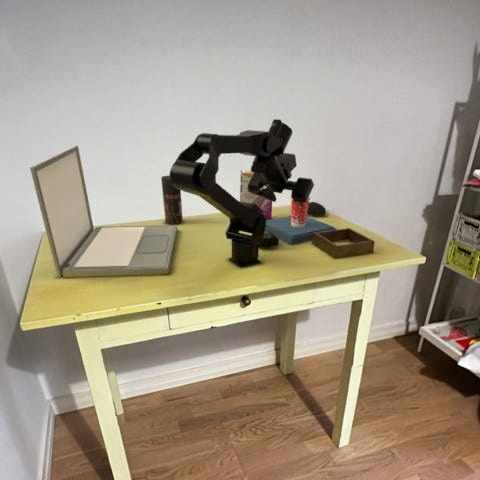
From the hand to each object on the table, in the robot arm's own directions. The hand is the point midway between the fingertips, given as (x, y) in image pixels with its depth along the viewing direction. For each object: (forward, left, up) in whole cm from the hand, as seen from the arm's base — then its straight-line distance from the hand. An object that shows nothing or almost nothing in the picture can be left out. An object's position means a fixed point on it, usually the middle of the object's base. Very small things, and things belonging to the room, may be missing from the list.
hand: (288, 202), depth 119 cm
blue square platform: (+7, +4, -11) cm, 14 cm away
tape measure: (-9, -2, -11) cm, 15 cm away
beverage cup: (+7, +3, -9) cm, 11 cm away
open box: (+9, -15, -11) cm, 21 cm away
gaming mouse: (+26, +19, -11) cm, 34 cm away
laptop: (-46, +16, -11) cm, 50 cm away
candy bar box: (+3, +22, -11) cm, 25 cm away
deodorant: (-23, +34, -11) cm, 43 cm away
